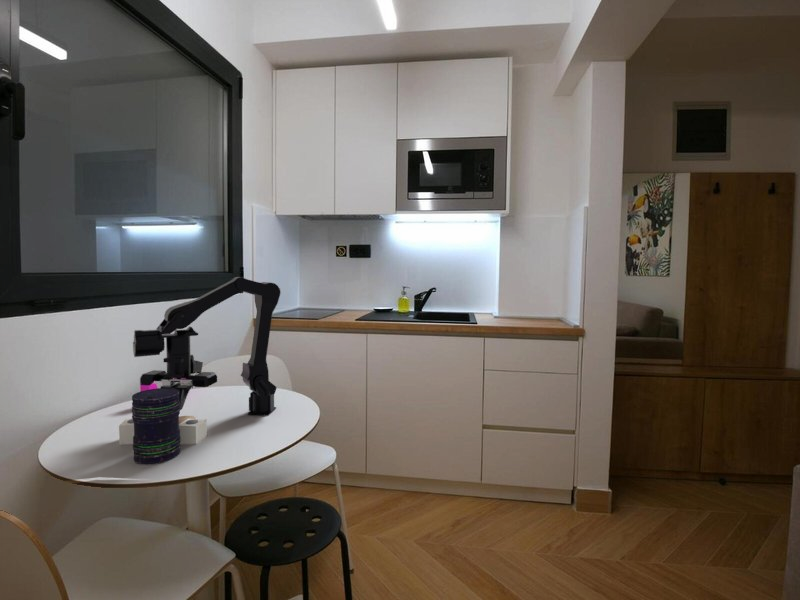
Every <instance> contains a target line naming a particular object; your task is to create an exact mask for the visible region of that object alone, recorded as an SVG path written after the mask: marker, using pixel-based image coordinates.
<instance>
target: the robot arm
mask: <svg viewBox="0 0 800 600" xmlns="http://www.w3.org/2000/svg"><path fill="white" fill-rule="evenodd" d="M240 292H241V293H242V292H244V293H247V294H250V295H254V304H255V308H256V316H255V323H254V330H253V338H252V345H251V353H250V357H249V359H248V362H243V363H242V371H241V374H240V377H242V382H243V383H244V384H245V385H246V386H247V387H248V388H249V389H250V391H251V392H250V393H249V394H250V397H248V411H249V412H247V415H248V416H249V415H250V416H252V415H253V416H270V415H271V414H272V413H273V412H274V411H276V409H277V407H276V406H275V394H276V391H277V386H276V385H275V384H274V383H272V382H271V381H270V379H269V378H270V377H269V376H270V375H269V373H270V372H269V366H268V362H267V356H268V350H269V349H268V348H269V340H270V333H271V326H272V318H273V312H274V311H275V309H276V307H277V306H278V303H279V301H280V300H279V299H280V296H281V288H280V286H278V284H276V283H274V282H269V281H268V282H266V281H264V282H263V281H262V282H259V281H255V280H250V279H247V278H246V277H243V276H236V277H233V278H232V279H231V280H229V281H228V282H226V283H224V284H222V285H220V286H218V287H216V288H214V289H212V290H211V291H209V292H207V293H205V294H203V295H201V296H199V297H197V298H195V299H192V300H189V301H185V302H182V303H179V304H176V305H173V306H170V307H169V308H167V309H166V310H165V312H164V318H163V320H162V321H161V322H160V323H159V325H158V326H157V327H156V329H147V330H144V329H143V330H141V329H135V330H134V331H133V333H134V334H133V341H132V352H133V357H134V358H140V357H148V356H152V357H153V356H159V355H160V354H161V353H162V352H163V351H165V350H166V357H164V358H163V363H166V370H157V369H156V370H154V369H153V370H151V371H148V372H145V373H142V374H141V376H140V377H139V385H152V384H153V383H155V382H162V384H161V385H160V388H174V389H178V390H179V401H180V411H182V410H183V408H184V405H185V403H186V400H187V396H188V394H189V393H190V390H191V388H193V387H195V388H209V387H210V386H212V385H214V384H216V383H217V382H218V375H217V373H216V372H213V371H212V372H211V371H202V370H203V365H204V363H203V362H202V361H199V360H195V357H194V354H191V337H195V336H199V332H197V331H196V330H195V329H194V328H193V326H190V325H191V324H193V322H195V321H196V320H197V319H198V318H200V316H201V315H203V313H205V312H206V311H208V310H210V309H212V308H213V307H215V306H217V305H220V304H221V303H223V302H224V301H226V300H228V299H229V298H232V297H233V296H235V295H237V294H239V293H240ZM185 328H186V329H185ZM165 340H166V341H165ZM165 345H166V349H165ZM174 378H177V379H174ZM182 378H185V379H182Z"/></svg>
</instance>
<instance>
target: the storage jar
mask: <svg viewBox="0 0 800 600" xmlns="http://www.w3.org/2000/svg"><path fill="white" fill-rule="evenodd" d="M131 401H132V402H131V405H132V406H131V413H132V416H131V419H133V421H134V436H133V444H132V452H133V462H134V463H135V464H136V465H142V466H144V465H145V466H150V465H158V464H163V463H166V462H170V461H171V460H173V459H175V458H177V457H178V456H179V455H180V454H181V448H180V447H181V444H180V442H181V436H180V429H179V415H180V414H181V413H180V412H181V410H180V401H179V390H178V389H174V388H161V387H160V388H157V389H150V390H145V391H141V392H140V391H138V392H135V393H134V394H132V396H131Z"/></svg>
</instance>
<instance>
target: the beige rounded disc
mask: <svg viewBox="0 0 800 600" xmlns="http://www.w3.org/2000/svg"><path fill="white" fill-rule="evenodd" d="M187 419H197V418H196V416H194V415H180V416H179V424H180V423H182V422H184V421H185V420H187Z"/></svg>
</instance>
